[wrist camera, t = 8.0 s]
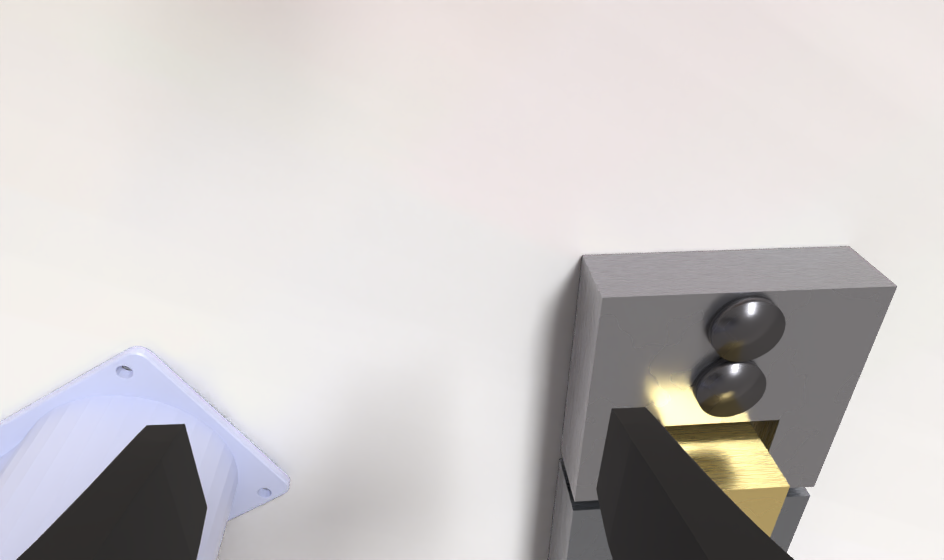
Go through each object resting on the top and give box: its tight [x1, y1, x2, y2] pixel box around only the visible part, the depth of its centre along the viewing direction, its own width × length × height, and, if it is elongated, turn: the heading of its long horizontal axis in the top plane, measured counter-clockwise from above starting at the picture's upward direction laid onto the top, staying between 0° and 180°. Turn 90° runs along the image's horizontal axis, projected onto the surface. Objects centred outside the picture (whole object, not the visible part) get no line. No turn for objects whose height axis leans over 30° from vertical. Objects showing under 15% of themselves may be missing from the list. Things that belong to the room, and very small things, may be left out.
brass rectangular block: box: [663, 421, 790, 537], centre depth 24 cm, size 6×3×5 cm, turn 179°
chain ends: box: [548, 246, 897, 560], centre depth 25 cm, size 18×9×3 cm, turn 0°
